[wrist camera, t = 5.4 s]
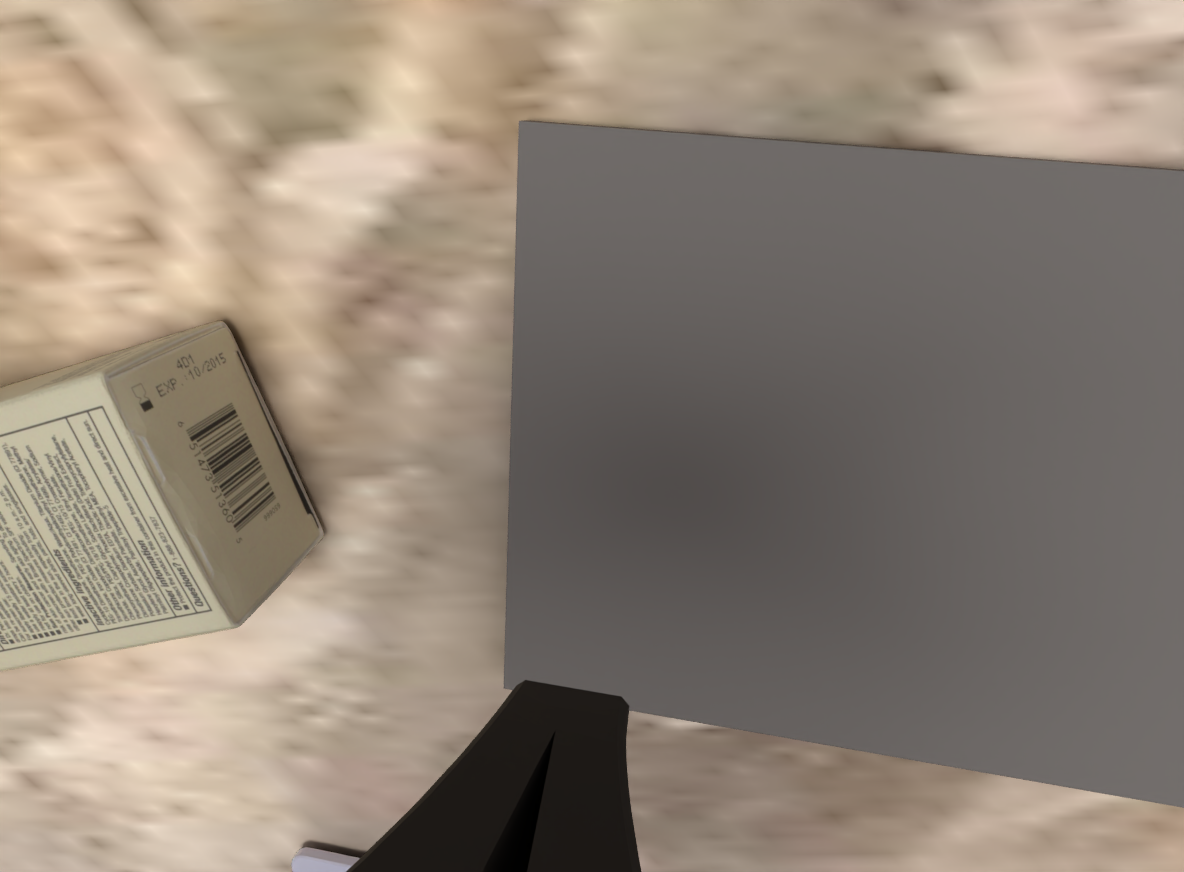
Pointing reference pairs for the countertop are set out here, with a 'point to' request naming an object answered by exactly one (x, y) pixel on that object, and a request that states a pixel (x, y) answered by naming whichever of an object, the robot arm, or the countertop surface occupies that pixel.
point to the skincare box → (142, 500)
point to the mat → (854, 447)
